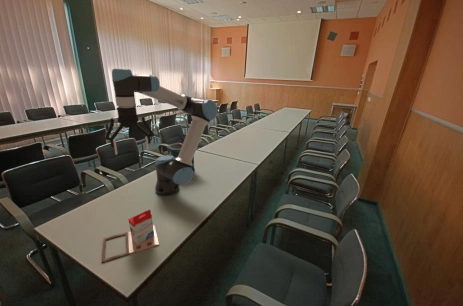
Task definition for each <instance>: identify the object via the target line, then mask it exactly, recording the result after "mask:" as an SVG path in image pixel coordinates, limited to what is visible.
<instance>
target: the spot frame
mask: <svg viewBox="0 0 463 306" xmlns="http://www.w3.org/2000/svg"><path fill="white" fill-rule="evenodd" d="M128 232H129V231H126V232H122V233H118V234H115V235H114V234H113V235H111V236H107V237H103V238H102V239H103V240H102V241H103V242H102V253H101V264H103V263H106V262H109V261H113V260H115V259H119V258H122V257H126V256H129V255H130V254H129V242H128ZM121 236H125V248H126V250H125V251H126V252H123V253H120V254H115V255H114V256H110V257H108V258H107V257H106V250H107V249H106V248H107V246H106V245H107V241H108V240H112V239H115V238H119V237H121Z"/></svg>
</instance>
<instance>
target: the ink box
mask: <svg viewBox="0 0 463 306" xmlns="http://www.w3.org/2000/svg"><path fill="white" fill-rule="evenodd" d="M153 222H154V221H153V215H152V211H151V209H150V208H149V209H147V210H145V211H143V212H140V213H138V214H136V215H134V216H132V217H130V218H128V226H129V231H131V237H132V240H133V241H134V242H135V243H136V244H137V245H138V244H140V243H141V242H143V241H145V240H146V239H148V238H150V237H151V236H153V235H154V230H153V225H154V224H153Z"/></svg>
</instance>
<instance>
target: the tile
mask: <svg viewBox="0 0 463 306" xmlns="http://www.w3.org/2000/svg"><path fill="white" fill-rule="evenodd" d="M153 230H154V235H153V236H151V237H150V238H148V239H146V240H145V241H143V242H141V243H140V244H138V245H137V244H136V243H135V242H134V241H133V240H132V237H131V231H130V230H129V231H127V232H128V242H129V255H131V254H135V253H139V252H140V251H144V250H148V249H150V248H154V247H157V246H160V243H159V239H158V235H157V230H156V226H155V224H153Z"/></svg>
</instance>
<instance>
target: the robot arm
mask: <svg viewBox="0 0 463 306" xmlns="http://www.w3.org/2000/svg"><path fill="white" fill-rule="evenodd" d="M111 80H112V85H113V90H114V96H115V98H114V99H115V103H116V106H117V107H116V111H117V116H118V117H117V118H114V117H111V118H110V124H109V127H108V129H107V132H106V135H105V137H104V139H105V141H109V142H110V147H111V148H114V154H115V156H117V155H118V149H117V142H116V139H115V138H116V137H117V136H118V135H119V133H120V132H121V130H122V129H123V128H125V129H127V128H134V127H135V128H137V130H139V131H140V132H141V133H143V135H145V145H146V151H147V152H149V151H150V147H149V146H150V144H151V143H152V142H151V141H152V140H151V137H154V135H155V134H154V132H153V131H152V129H151V127H150V126H149V124H148V123H147V121H146V118H145V116H144V115H143V116H140V117H138V113H137V107H136V104H137V103H136V97H135V93H138V94H141V95H144V96H147V97H148V98H149V97H150V98H152V99H154V100H158V101H160V102H162V103H164V104H168V105H170V106H174V107H176V109H178V110H179V111H182V112H184V113H187V115H191V116H190V117H191V123H190V125H189V127H188V129H187V132H186V134H185V135H186V137H185V140H184V142H183V145H182V147H181V150H180V153H179V155H178V157H176V158H174V156H168V155H163V156H159V157H157V158H156V159H155V171H156V172H155V173H156V184H155V187H154V188H155V189H154V191H155V193H156V194H157V195H158V196H159V195H161V196H170V195H174V194H176V193H178V192H179V190H180V186H185V185H187V184H188V183H190V181H192V179H193V177H194V171H193V170H192V169H191V168H192V166H193V165H192V159H193V156H194V157H195V153H196V151H197V148H198V146H199V143H200V141H201V138H202V135H203V133H204V130H205V128H206V126H207V125H209V124H210V122H211V121H212V120H215V119H216V117H217V115H218V106H217V103H216V102H215V101H214V100H213V99H208V98H201V97H193V96H188V95H186V94H179V93H176V92H174V91H172V90H170V89H168V88H166V87H163V86H161V85H160V79H159V78H158V76H156V75H153V74H137V73H133V71H132V70H131V69H129V68H128V69H127V68H112V69H111ZM139 121H140V122H141V123H142V124H143V125H144V126H145V129H147V131H148V132H149V133H148V132H147V131H146V130H145V129H144V128H143V127H142V126H141V125H139V124H138V122H139ZM117 122H118V123H119V125H118V127H117V129H115V131H114V132H113V133H112V130H113V128H114V125H115V124H116V123H117ZM111 133H112V135H111Z"/></svg>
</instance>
